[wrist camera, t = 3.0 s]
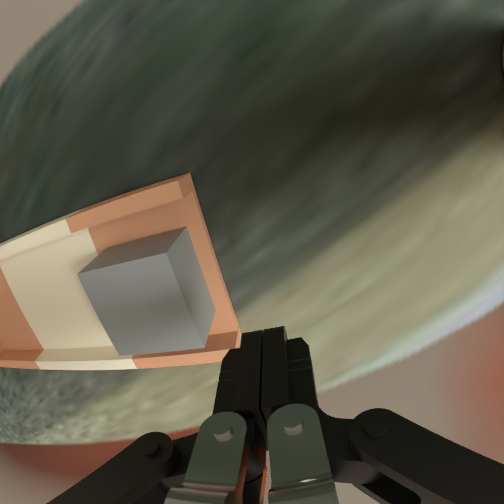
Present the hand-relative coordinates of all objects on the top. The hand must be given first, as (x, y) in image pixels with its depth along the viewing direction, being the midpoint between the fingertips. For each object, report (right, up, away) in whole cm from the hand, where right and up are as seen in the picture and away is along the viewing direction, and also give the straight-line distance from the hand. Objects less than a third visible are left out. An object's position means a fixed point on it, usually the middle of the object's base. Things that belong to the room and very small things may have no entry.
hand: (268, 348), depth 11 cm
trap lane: (-16, 0, +11) cm, 20 cm away
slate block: (-7, +2, +9) cm, 12 cm away
